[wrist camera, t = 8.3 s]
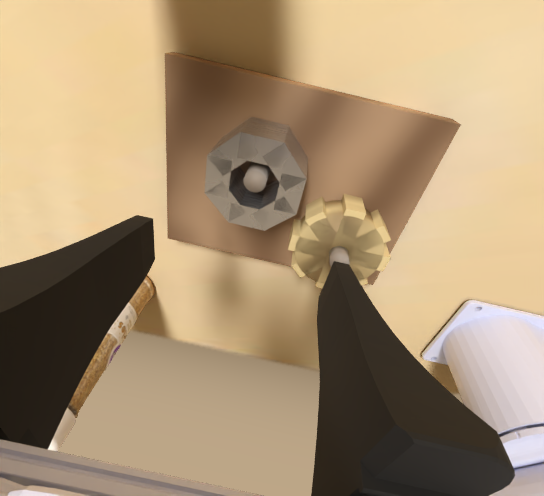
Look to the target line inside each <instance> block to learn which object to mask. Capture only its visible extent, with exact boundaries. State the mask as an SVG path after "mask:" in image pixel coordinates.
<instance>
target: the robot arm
mask: <svg viewBox="0 0 544 496" xmlns="http://www.w3.org/2000/svg"><path fill="white" fill-rule="evenodd" d="M154 260H155V252H154V230H153V219H152V218H147V217H143V216H139V215H137V216H134V217H132V218H130V219H127V220H125V221H123V222H121V223H119V224H117V225H114V226H112V227H110V228H108V229H106V230H104V231H102V232H99V233H97V234H95V235H93V236H91V237H88V238H86V239H84V240H81V241H79V242H76V243H74V244H71V245H69V246H67V247H64V248H62V249H59V250H56V251H54V252H51V253H48V254H45V255H42V256H39V257H36V258H33V259H30V260H27V261H23V262H20V263H16V264H13V265H9V266H5V267H1V268H0V496H262V495H258V494H253V493H248V492H244V491H239V490H234V489H230V488H225V487H220V486H216V485H211V484H206V483H201V482H197V481H192V480H188V479H183V478H178V477H174V476H169V475H164V474H159V473H155V472H150V471H146V470H141V469H136V468H132V467H127V466H122V465H118V464H113V463H108V462H104V461H99V460H94V459H90V458H85V457H80V456H76V455H71V454H66V453H62V452H57V451H52V450H48V448H49V446H50V444H51V441H52V439H53V437H54V435H55V433H56V431H57V428H58V426H59V424H60V422H61V420H62V418H63V415H64V413H65V411H66V409H67V407H68V405H69V403H70V401H71V399H72V397H73V395H74V393H75V391H76V389H77V387H78V385H79V383H80V381H81V379H82V377H83V375H84V374H85V372H86V370H87V368H88V366H89V364H90V362H91V360H92V359H93V357H94V355H95V353H96V351H97V350H98V348H99V346H100V344H101V343H102V341H103V339H104V337H105V336H106V334H107V332H108V331H109V329H110V328H111V326H112V325H113V323H114V322H115V321H116V319H117V318H118V316H119V315H120V314H121V312H122V311H123V309H124V308H125V307H126V305H127V304H128V302H129V301H130V300H131V298H132V297H133V295H134V294H135V293H136V291H137V290H138V288H139V287H140V285H141V284H142V283H143V281H144V279H145V278H146V276H147V274H148V272H149V270H150V268H151V266H152V264H153V262H154ZM317 329H318V348H319V366H320V391H319V411H318V427H317V440H316V452H315V465H314V475H313V485H312V494H311V496H544V316H541V315H537V314H533V313H528V312H524V311H519V310H515V309H511V308H506V307H502V306H497V305H493V304H489V303H484V302H480V301H475V300H468V301H466V302H465V303H464V304H463V305H462V307H461V308H460V309H459V310H458V311H457V313H456V314H455V315H454V316H453V317H452V318H451V320H450V321H449V322H448V323H447V324H446V326H445V327H444V328H443V329H442V330H441V332H440V333H439V334H438V335H437V336H436V337H435V339H434V340H433V341H432V342H431V343H430V345H429V346H428V347H427V348H426V349H425V350H424V352H423V353H422V357H423V359H425V360H428V361H432V362H437V363H441V364H446V365H448V366H449V368H450V371H451V373H452V376H453V378H454V381H455V383H456V386H457V388H458V391H459V394H460V396H461V399H462V401H463V404H462V403H461V402H460V401H459V400H458V399H457V398H456V397H455V396H453V395H452V394H451V393H450V392H449V391H448V390H447V389H446V388H445V387H444V386H442V385H441V384H440V383H439V382H438V381H437V380H436V379H435V378H434V377H433V376H432V375H431V374H430V373H429V372H428V371H427V370H426V369H425V368H424V367H423V366H422V365H421V364H420V363H419V362H418V361H417V360H416V359H415V358H414V356H413V355H412V354H411V353H410V352H409V351H408V350H407V349H406V347H405V346H404V345H403V344H402V343H401V341H400V340H399V339H398V338H397V337H396V336H395V334H394V333H393V332H392V330H391V329H390V328H389V327H388V325H387V324H386V322H385V321H384V320H383V318H382V317H381V315H380V314H379V313H378V311H377V310H376V308H375V307H374V305H373V304H372V302H371V300H370V299H369V297H368V296H367V294H366V292H365V291H364V289H363V287H362V286H361V284H360V282H359V281H358V279H357V277H356V275H355V274H354V272H353V270H352V268H351V267H350V265H349V264H345V263H341V262H336V261H334V262H333V264H332V267H331V269H330V272H329V274H328V276H327V279H326V281H325V284H324V286H323V288H322V291H321V293H320V296H319V301H318V314H317Z"/></svg>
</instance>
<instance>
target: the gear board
mask: <svg viewBox="0 0 544 496" xmlns="http://www.w3.org/2000/svg"><path fill="white" fill-rule="evenodd" d="M165 88H166V153H167V218H168V238H169V239H173V240H177V241H182V242H186V243H191V244H195V245H199V246H204V247H208V248H213V249H217V250H221V251H226V252H230V253H235V254H239V255H243V256H248V257H252V258H257V259H261V260H265V261H270V262H274V263H279V264H283V265H287V266H292V267H293V269H294V270H295V271H296V273H297V274H298V275H299V277H300V278H301V277H303V276H306V275H307V276H308V277H309V278H311V279H312V280H314V281H316V287H319V288H323V286H324V284H325V281H326V279H327V276H328V274H329V272H330V269H331V267H332V264H333V262H334V261H336V262H341V263H345V264H349V265H350V267H351V268H352V270H353V272H354V274H355V275H356V277H357V279H358V281H359V282H360V284H361V286H362V285H365V284H371V285H373V284H374V282H375V280H376V278H377V276H378V275H379V273H380V271H384V269H385V267H386V265H387V263H388V262H389V260H390V258H391V257H390V253H391V251H392V249H393V247H394V245H395V244H396V242H397V240H398V238H399V236H400V234H401V233H402V231H403V229H404V227H405V225H406V223H407V222H408V220H409V218H410V216H411V214H412V213H413V211H414V209H415V207H416V205H417V203H418V202H419V200H420V198H421V196H422V194H423V192H424V191H425V189H426V187H427V185H428V183H429V181H430V180H431V178H432V176H433V174H434V172H435V171H436V169H437V167H438V165H439V163H440V161H441V160H442V158H443V156H444V154H445V152H446V150H447V149H448V147H449V145H450V143H451V141H452V140H453V138H454V136H455V134H456V132H457V130H458V129H459V127H460V125H461V124H459V123H457V122H456V121H454V120H453V119H450V118H445V117H441V116H437V115H433V114H429V113H425V112H420V111H416V110H412V109H408V108H404V107H400V106H396V105H391V104H387V103H383V102H379V101H375V100H371V99H366V98H362V97H358V96H354V95H350V94H346V93H342V92H337V91H333V90H329V89H325V88H321V87H317V86H312V85H308V84H304V83H300V82H296V81H292V80H288V79H283V78H279V77H275V76H271V75H267V74H263V73H258V72H254V71H250V70H246V69H242V68H238V67H234V66H229V65H225V64H221V63H217V62H213V61H209V60H204V59H200V58H196V57H192V56H188V55H184V54H180V53H175V52H171V53H165ZM250 117H256V118H260V119H264V120H268V121H272V122H276V123H281V124H285V125H289V127H290V128H291V130H292V132H293V133H294V135H295V137H296V138H297V140H298V142H299V143H300V145H301V147H302V149H303V150H304V152H305V154H306V155H307V157H308V165H307V180H306V183H305V187H304V190H303V193H302V197H301V200H300V204H299V207H298V211H297V214H296V215H295V216H293V217H291V218H289V219H287V220H285V221H283V222H281V223H279V224H277V225H275V226H273V227H271V228H269V229H267V230H265V231H263V230H259V229H255V228H250V227H246V226H242V225H238V224H233V223H229V222H228V221H227V220H226V219H225V218H224V216H223V215H222V214H221V213H220V211H219V210H218V209H217V208H216V207H215V205H214V204H213V203H212V202H211V200H210V199H209V198H208V197H207V196H206V194H205V193H204V192H205V178H206V164H207V155H208V154H209V152H210V151H211V150H212V149H213V148H214V147H215V145H216V144H217V143H218V142H219V141H220V140H221V138H222V137H224V136H225V135H226V134H228V133H229V132H231V131H232V130H233V129H235V128H236V127H238V126H239V125H240V124H242V123H243V122H245V121H246V120H248V119H249V118H250ZM240 168H241V169H242V171H243V172H244V174H245V177H244V185H245V187H246V188H247V189H248V190H249V191H251V192H260V191H262V190H263V189H264V187H265V185H266V186H267V185H269V184H270V183H272V182H274V181H276V180H277V178H276V176H275V175H274V173H273V172H272V170H271V169H270V167H269V166H268V165H264V164H260V163H256V162H252V161H246V162H244V163H243V164H241V167H240Z"/></svg>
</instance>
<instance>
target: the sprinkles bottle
mask: <svg viewBox="0 0 544 496" xmlns="http://www.w3.org/2000/svg"><path fill="white" fill-rule="evenodd" d="M153 294H154V288H153V285H152V283H151V281H150V279H149V278H148V277H147V276H146V278H145V279H144V281H143V283H142V284H141V285H140V287H139V288H138V290H137V291H136V293H135V294H134V295H133V297H132V298H131V300H130V301H129V302H128V304H127V305H126V307H125V308H124V309H123V311H122V312H121V314H120V315H119V316H118V318H117V319H116V321H115V322H114V323H113V325H112V326H111V328H110V329H109V331H108V332H107V334H106V336H105V337H104V339H103V341H102V343H101V344H100V346H99V348H98V350H97V351H96V353H95V355H94V357H93V359H92V360H91V362H90V364H89V366H88V368H87V370H86V372H85V374H84V375H83V377H82V379H81V381H80V383H79V385H78V387H77V389H76V391H75V393H74V395H73V397H72V399H71V401H70V403H69V405H68V407H67V409H66V411H65V413H64V415H63V418H62V420H61V422H60V424H59V426H58V428H57V431H56V433H55V435H54V437H53V439H52V441H51V444H50V446H49V448H48V450H52V451H58V449H59V448H60V447H61V445H62V444H63V442H64V441H65V439H66V438H67V436H68V434H69V433H70V431H71V429H72V428H73V426H74V424H75V421H76V420H75V418H77V416H78V412H79V410H80V408H81V407H82V406H83V404H84V402H85V400H86V398H87V397H88V395H89V394H90V392H91V391H92V389H93V388H94V386H95V384H96V383H97V381H98V380H99V378H100V377H101V375H102V373H103V372H104V371H105V370H106V368H107V367H108V365H109V363H110V362H111V360H112V358H113V357H114V355H115V354H116V352H117V350H118V349H119V347H120V346H121V344H122V343H123V341H124V339H125V338H126V336H127V334H128V333H129V332H130V330H131V329H132V327H133V325H134V324H135V322H136V319H137V318H138V316H139V314H140V313H141V311H142V309H143V308H144V306H145V305H146V303H147V302H148V301H149V300H150V299H151V298H152V296H153Z"/></svg>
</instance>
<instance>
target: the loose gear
mask: <svg viewBox="0 0 544 496" xmlns="http://www.w3.org/2000/svg"><path fill="white" fill-rule="evenodd" d="M246 161H252V162H256V163H260V164H264V165H268V166H269V167H270V169H271V170H272V172H273V173H274V175H275V176H276V178H277V180H276V181H274V182H272V183H270V184H269V185H267V186H266V185H265V187H264V189H263V190H262V191H260V192H251V191H249V190H248V189H247V188H246V187H245V185H244V177H245V174H244V172H243V171H242V169H241V168H240V167H241V164H243V163H244V162H246ZM307 165H308V157H307V155H306V154H305V152H304V150H303V149H302V147H301V145H300V143H299V142H298V140H297V138H296V137H295V135H294V133H293V132H292V130H291V128H290V127H289V125H285V124H281V123H276V122H272V121H268V120H264V119H260V118H256V117H250V118H249V119H248V120H246V121H245V122H243V123H242V124H240V125H239V126H238V127H236V128H235V129H233V130H232V131H231V132H229V133H228V134H226V135H225V136H224V137H222V138H221V140H220V141H219V142H218V143H217V144H216V145H215V147H214V148H213V149H212V150H211V151H210V152H209V154H208V155H207V164H206V178H205V192H204V193H205V194H206V196H207V197H208V198H209V199H210V200H211V202H212V203H213V204H214V205H215V207H216V208H217V209H218V210H219V211H220V213H221V214H222V215H223V216H224V218H225V219H226V220H227V221H228V222H229V223H233V224H238V225H242V226H246V227H250V228H255V229H259V230H263V231H265V230H267V229H269V228H271V227H273V226H275V225H277V224H279V223H281V222H283V221H285V220H287V219H289V218H291V217H293V216H295V215H296V214H297V211H298V207H299V204H300V200H301V197H302V193H303V190H304V187H305V183H306V180H307Z"/></svg>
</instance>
